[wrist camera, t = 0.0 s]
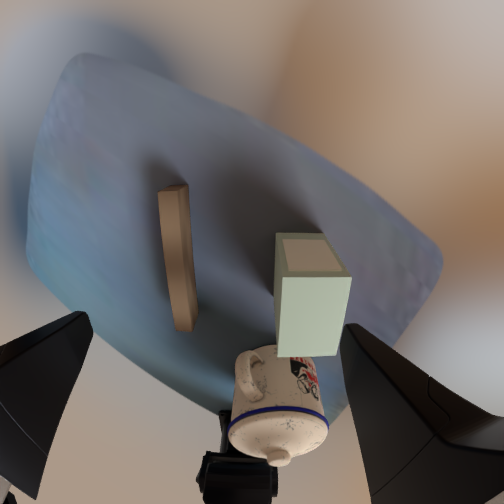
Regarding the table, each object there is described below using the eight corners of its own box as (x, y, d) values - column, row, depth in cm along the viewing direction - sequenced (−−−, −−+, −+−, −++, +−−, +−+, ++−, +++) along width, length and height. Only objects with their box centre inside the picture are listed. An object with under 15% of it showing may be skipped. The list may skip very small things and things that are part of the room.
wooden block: (198, 312, 26) (192, 331, 23) (182, 311, 26) (174, 330, 23) (188, 184, 21) (177, 190, 18) (168, 185, 21) (155, 191, 18)
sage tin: (323, 231, 22) (352, 275, 15) (316, 297, 25) (335, 356, 17) (275, 230, 22) (282, 275, 15) (273, 297, 25) (277, 358, 17)
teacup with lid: (326, 380, 29) (344, 465, 18) (257, 402, 31) (254, 484, 20) (287, 306, 25) (300, 409, 14) (204, 338, 27) (179, 434, 16)
